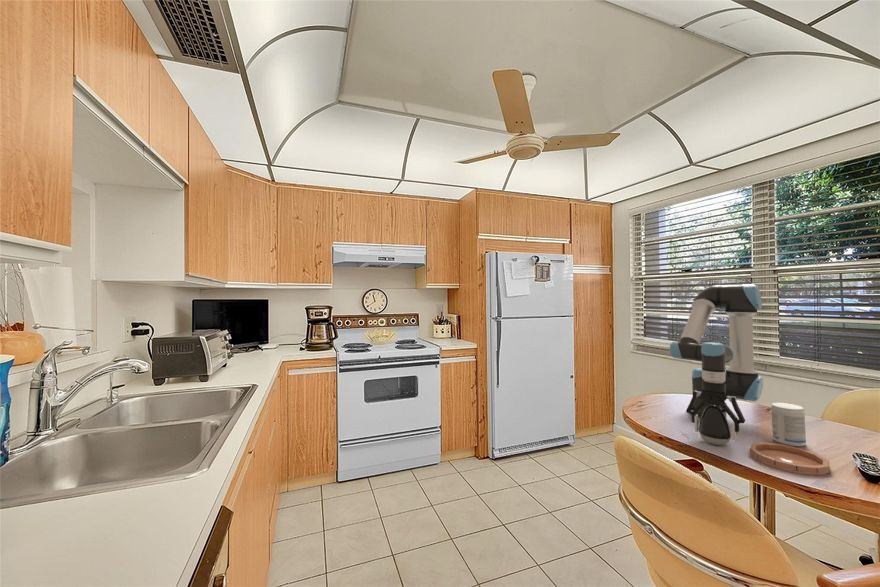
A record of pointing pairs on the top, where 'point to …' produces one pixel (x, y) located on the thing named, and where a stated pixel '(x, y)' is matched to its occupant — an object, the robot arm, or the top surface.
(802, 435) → the supplement tub
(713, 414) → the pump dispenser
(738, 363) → the robot arm
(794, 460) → the round tray
